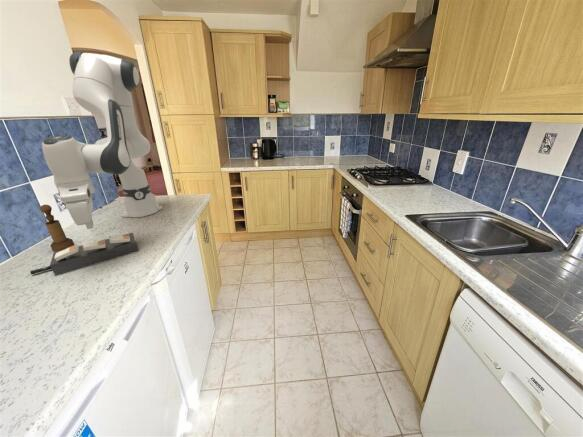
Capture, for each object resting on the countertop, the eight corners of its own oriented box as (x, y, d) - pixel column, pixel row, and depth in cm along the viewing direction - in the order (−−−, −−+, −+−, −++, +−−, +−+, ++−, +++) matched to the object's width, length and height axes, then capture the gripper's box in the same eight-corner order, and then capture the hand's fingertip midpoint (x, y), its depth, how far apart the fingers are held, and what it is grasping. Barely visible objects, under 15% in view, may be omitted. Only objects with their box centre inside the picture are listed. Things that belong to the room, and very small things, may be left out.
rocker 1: (58, 255, 82) (55, 252, 81) (78, 246, 85) (76, 243, 84) (56, 261, 79) (53, 258, 78) (78, 251, 82) (75, 248, 81)
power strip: (35, 268, 83) (29, 256, 81) (135, 241, 100) (132, 230, 98) (29, 282, 76) (22, 270, 74) (138, 251, 92) (135, 240, 90)
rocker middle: (84, 246, 85) (83, 242, 85) (105, 243, 89) (104, 239, 89) (83, 250, 82) (82, 247, 82) (105, 247, 86) (105, 244, 86)
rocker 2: (109, 239, 89) (109, 235, 89) (128, 237, 93) (128, 234, 93) (109, 243, 86) (109, 239, 86) (129, 241, 90) (129, 238, 90)
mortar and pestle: (54, 253, 92) (33, 209, 85) (50, 248, 96) (30, 206, 89) (76, 246, 97) (58, 204, 90) (71, 241, 101) (53, 200, 93)
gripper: (67, 183, 84) (81, 219, 90) (59, 199, 69) (76, 241, 75) (90, 180, 88) (102, 215, 93) (86, 195, 73) (101, 235, 78)
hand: (90, 227), depth 84 cm, fingers closed
